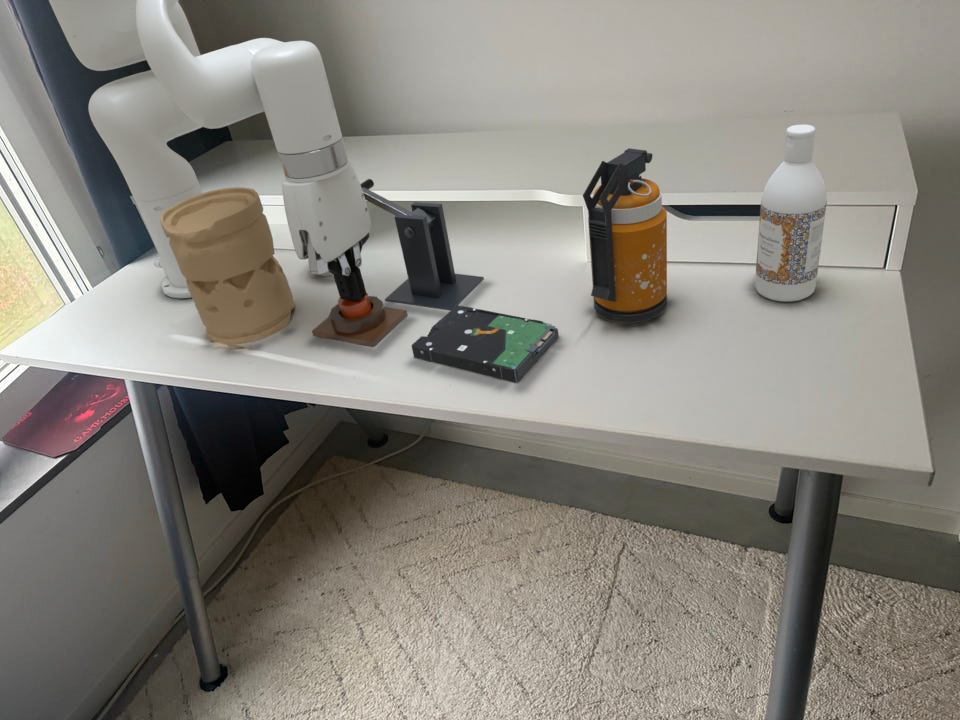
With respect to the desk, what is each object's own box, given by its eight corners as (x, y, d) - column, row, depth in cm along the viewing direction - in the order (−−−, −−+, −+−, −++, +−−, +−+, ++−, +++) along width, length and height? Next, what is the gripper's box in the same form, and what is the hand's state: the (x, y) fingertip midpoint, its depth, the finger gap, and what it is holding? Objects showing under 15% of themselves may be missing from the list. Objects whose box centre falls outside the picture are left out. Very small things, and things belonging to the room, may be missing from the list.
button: (335, 317, 94) (331, 304, 93) (353, 301, 96) (350, 289, 95) (359, 321, 92) (356, 307, 91) (377, 305, 95) (374, 292, 93)
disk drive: (414, 365, 87) (519, 389, 80) (409, 346, 86) (516, 369, 78) (459, 322, 94) (561, 341, 87) (455, 303, 93) (558, 321, 85)
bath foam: (742, 287, 91) (752, 129, 80) (786, 270, 93) (802, 114, 82) (781, 309, 85) (798, 143, 74) (827, 291, 87) (851, 127, 76)
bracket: (386, 306, 101) (365, 221, 93) (420, 276, 107) (402, 194, 100) (453, 316, 95) (436, 227, 88) (484, 284, 102) (471, 199, 95)
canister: (680, 301, 90) (682, 144, 79) (631, 343, 84) (625, 180, 73) (620, 285, 96) (613, 136, 85) (570, 323, 90) (556, 169, 79)
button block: (314, 341, 95) (307, 319, 93) (350, 311, 101) (344, 289, 99) (375, 353, 91) (368, 329, 89) (409, 320, 96) (404, 298, 94)
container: (269, 352, 95) (222, 226, 85) (191, 348, 99) (138, 227, 89) (313, 303, 104) (276, 185, 94) (241, 301, 108) (198, 188, 99)
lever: (342, 204, 96) (343, 188, 94) (366, 188, 100) (367, 173, 98) (417, 244, 94) (420, 229, 92) (438, 226, 97) (442, 211, 96)
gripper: (328, 137, 90) (364, 268, 100) (245, 182, 79) (294, 323, 89) (377, 137, 86) (408, 273, 96) (296, 184, 76) (341, 331, 86)
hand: (353, 297), depth 93 cm, fingers closed
